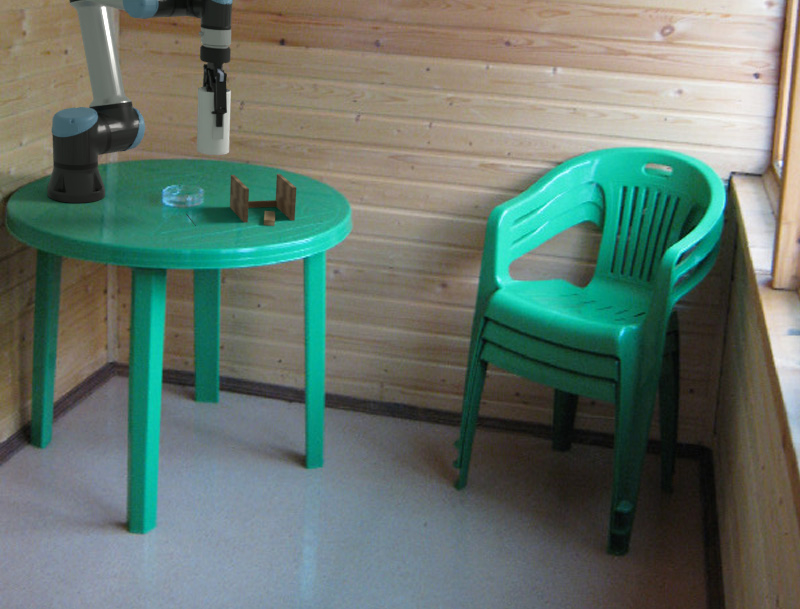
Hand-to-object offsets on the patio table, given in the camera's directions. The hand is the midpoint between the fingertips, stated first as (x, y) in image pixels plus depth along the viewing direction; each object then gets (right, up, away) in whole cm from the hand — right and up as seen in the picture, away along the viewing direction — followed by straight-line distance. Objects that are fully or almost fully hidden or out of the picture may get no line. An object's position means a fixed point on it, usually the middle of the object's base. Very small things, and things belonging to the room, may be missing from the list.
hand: (213, 134), depth 272 cm
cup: (0, -4, +2) cm, 4 cm away
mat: (-2, -21, +8) cm, 23 cm away
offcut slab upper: (+13, -22, +9) cm, 27 cm away
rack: (+11, -20, +14) cm, 27 cm away
